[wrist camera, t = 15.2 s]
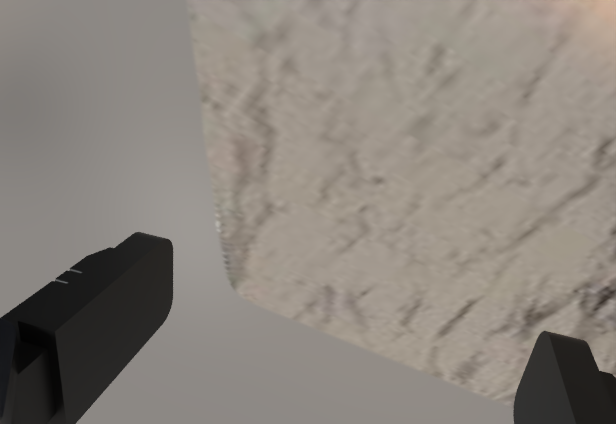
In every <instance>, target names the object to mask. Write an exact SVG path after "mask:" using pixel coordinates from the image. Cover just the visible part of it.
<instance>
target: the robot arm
mask: <svg viewBox="0 0 616 424" xmlns="http://www.w3.org/2000/svg"><path fill="white" fill-rule="evenodd" d="M172 300H173V246H172V242H171V241H170V240H169V239H165V238H162V237H157V236H153V235H149V234H145V233H141V232H136V233H134V234H132V235H131V236H130V237H128V238H127V239H126V240H124V241H123V242H122V243H120V244H119V245H118V246H116V247H115V248H107V249H105V250H102V251H99V252H96V253H94V254H91V255H88V256H86V257H85V258H84V259H82V260H81V261H80V262H78V263H77V264H75V265H74V266H73V267H71V268H70V271H65V272H64V273H63V274H61V275H60V276H59V277H57V278H56V280H55V282H54V281H52V282H50V283H49V284H47V285H46V286H45V287H43V288H42V289H40V290H39V291H38V292H36V293H35V294H33V295H32V296H31V297H29V298H28V299H26V300H25V301H24V302H22V303H21V304H19V305H18V306H17V307H15V308H14V309H12V310H11V311H10V312H9V313H7V314H5V315H4V316H3V317H1V318H0V424H76V422H77V421H78V420H79V419H80V418H81V417H82V416H83V415H84V413H85V412H86V411H87V410H88V409H89V408H90V407H91V405H92V404H93V403H94V402H95V401H96V400H97V398H98V397H99V396H100V395H101V394H102V393H103V391H104V390H105V389H106V388H107V387H108V386H109V384H111V382H112V381H113V380H114V379H115V378H116V377H117V376H118V374H119V373H120V372H121V371H122V370H123V369H124V368H125V366H126V365H127V364H128V363H129V362H130V361H131V360H132V358H133V357H134V356H135V355H136V354H137V353H138V352H139V350H140V349H141V348H142V347H143V346H144V345H145V344H146V342H147V341H148V340H149V339H150V338H151V337H152V336H153V334H154V333H155V332H156V331H157V330H158V329H159V328H160V326H161V325H162V324H163V323H164V321H165V320H166V318H167V316H168V314H169V312H170V309H171V305H172ZM514 424H616V378H615V377H614V376H613V375H612V374H610V373H606V372H602V371H599V369H598V367H597V364H596V362H595V360H594V357H593V355H592V352H591V350H590V347H589V345H588V343H587V342H586V341H584V340H580V339H576V338H572V337H568V336H564V335H560V334H556V333H551V332H547V331H543V332H542V333H541V334H540V335H539V337H538V339H537V341H536V343H535V346H534V348H533V351H532V353H531V356H530V358H529V361H528V364H527V366H526V369H525V371H524V374H523V376H522V379H521V381H520V384H519V386H518V389H517V392H516V396H515V402H514Z"/></svg>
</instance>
